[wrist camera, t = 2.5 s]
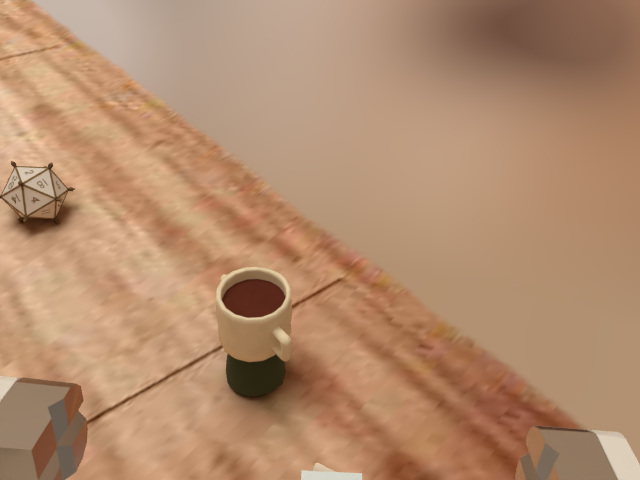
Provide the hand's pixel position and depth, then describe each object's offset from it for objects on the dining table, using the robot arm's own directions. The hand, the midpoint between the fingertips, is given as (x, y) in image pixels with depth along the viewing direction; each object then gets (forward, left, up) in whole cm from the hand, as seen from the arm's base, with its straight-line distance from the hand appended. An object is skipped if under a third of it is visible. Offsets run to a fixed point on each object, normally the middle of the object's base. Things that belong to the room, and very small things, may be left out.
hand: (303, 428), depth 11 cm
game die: (+3, +67, -44) cm, 80 cm away
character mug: (+15, +29, -44) cm, 54 cm away
